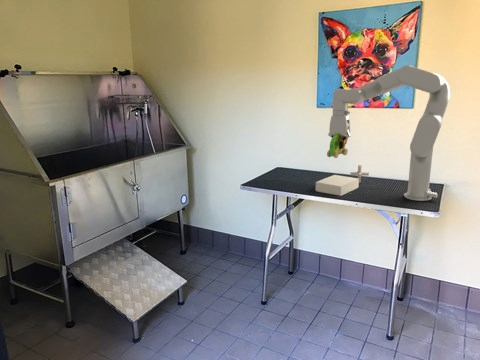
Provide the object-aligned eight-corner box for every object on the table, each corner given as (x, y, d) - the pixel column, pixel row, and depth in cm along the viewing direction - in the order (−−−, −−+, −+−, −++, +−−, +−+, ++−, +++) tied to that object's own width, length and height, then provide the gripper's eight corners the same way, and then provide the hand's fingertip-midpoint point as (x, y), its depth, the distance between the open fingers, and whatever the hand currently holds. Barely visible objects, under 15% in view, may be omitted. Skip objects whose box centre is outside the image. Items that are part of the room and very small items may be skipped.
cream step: (358, 187, 219) (358, 178, 218) (340, 195, 205) (341, 186, 204) (334, 183, 229) (334, 174, 228) (315, 190, 215) (315, 182, 214)
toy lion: (335, 158, 205) (336, 129, 201) (326, 157, 209) (327, 128, 205) (349, 154, 216) (351, 126, 213) (340, 152, 220) (342, 125, 216)
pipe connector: (368, 184, 224) (369, 167, 221) (350, 184, 226) (351, 167, 223) (367, 180, 233) (368, 163, 231) (349, 180, 235) (350, 163, 233)
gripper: (357, 113, 204) (356, 148, 209) (329, 112, 215) (328, 146, 219) (350, 114, 199) (349, 150, 204) (322, 113, 209) (321, 148, 214)
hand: (338, 148), depth 211 cm, fingers closed on toy lion
